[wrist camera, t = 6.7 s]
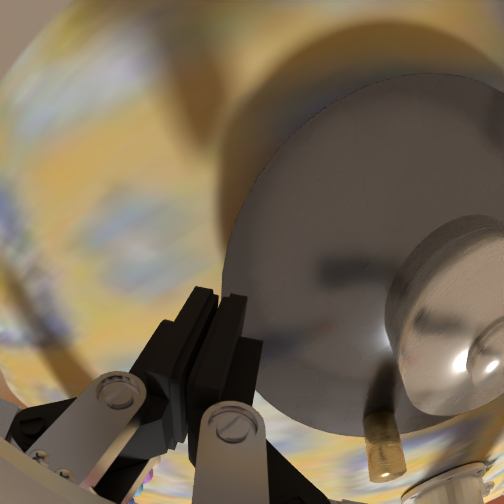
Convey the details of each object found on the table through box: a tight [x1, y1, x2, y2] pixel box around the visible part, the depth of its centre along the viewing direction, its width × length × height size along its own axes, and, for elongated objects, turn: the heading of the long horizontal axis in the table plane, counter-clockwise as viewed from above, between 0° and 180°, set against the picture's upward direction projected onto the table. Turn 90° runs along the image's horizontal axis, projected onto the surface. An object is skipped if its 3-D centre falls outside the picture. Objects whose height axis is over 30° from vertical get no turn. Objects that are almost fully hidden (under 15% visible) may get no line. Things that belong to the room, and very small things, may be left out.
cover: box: [384, 215, 504, 416], centre depth 9 cm, size 8×8×4 cm
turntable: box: [221, 73, 504, 483], centre depth 10 cm, size 20×20×6 cm
